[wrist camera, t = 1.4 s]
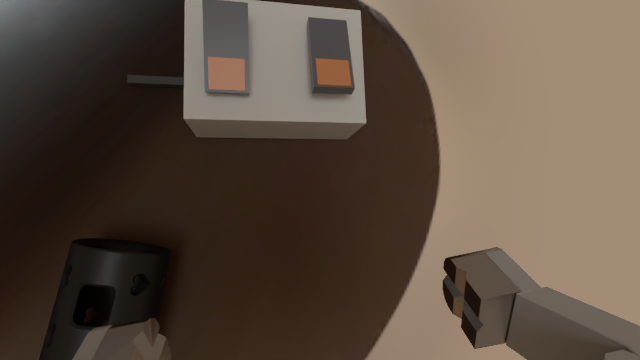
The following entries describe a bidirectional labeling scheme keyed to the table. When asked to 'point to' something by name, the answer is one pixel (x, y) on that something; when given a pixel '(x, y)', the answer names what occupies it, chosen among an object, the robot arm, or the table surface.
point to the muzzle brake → (104, 290)
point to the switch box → (269, 79)
